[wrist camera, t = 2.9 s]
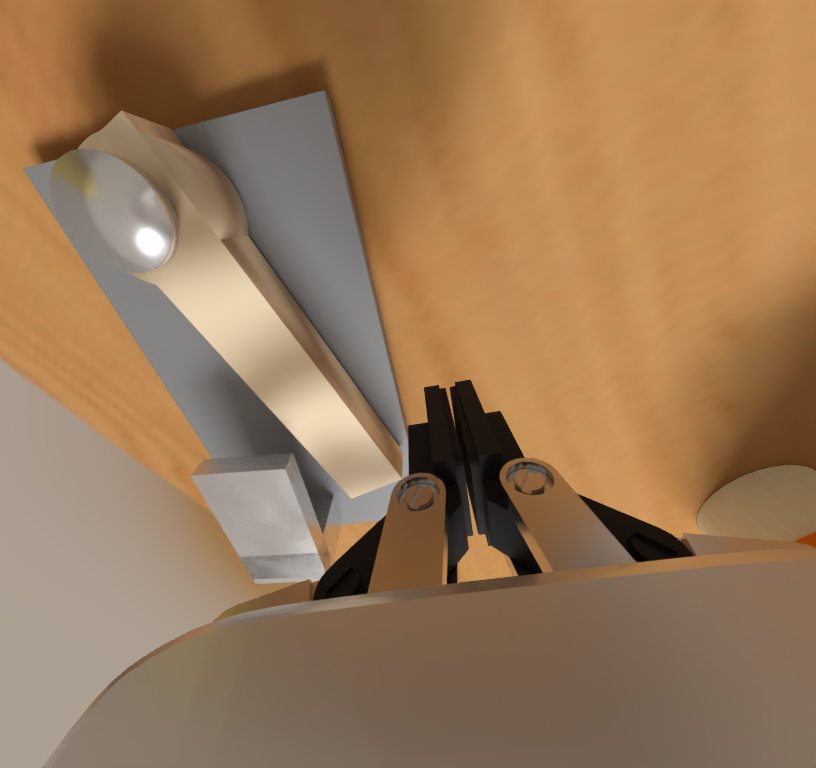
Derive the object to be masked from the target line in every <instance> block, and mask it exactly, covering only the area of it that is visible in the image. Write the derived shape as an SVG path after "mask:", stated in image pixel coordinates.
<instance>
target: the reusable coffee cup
mask: <svg viewBox="0 0 816 768" xmlns="http://www.w3.org/2000/svg"><path fill="white" fill-rule="evenodd" d="M697 526H698V529H699V530H700V532H701V533H702V535H712V536H725V537H739V538H752V539H766V540H779V541H790V542H796V543H801V544H806V545H809V546H811V547H814V548H816V470H814V469H812V468H809V467H806V466H800V465H781V466H774V467H769V468H765V469H761V470H757V471H754V472H752V473H749V474H746V475H744V476H742V477H739V478H737V479H735V480H733V481H731V482H730V483H728V484H726V485H725V486H723V487H722V488H720V489H719V490H718V491H716V492H715V493H714V494H713V495H711V496H710V497H709V499H708V500H707V501H706V502H705V503H704V504H703V506H702V507H701V509H700V510H699V513H698V516H697Z"/></svg>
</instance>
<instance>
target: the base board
mask: <svg viewBox="0 0 816 768" xmlns="http://www.w3.org/2000/svg"><path fill="white" fill-rule="evenodd" d="M173 132H174V133H175V134H176V136H177V137H178V139H179V140H180V141H181V143H182V144H183V146H185V147H188V148H190V149H192V150H195V151H196V152H198V153H200V154H202V155H203V156H205V157H206V158H208V159H209V160H210V161H212V162H213V163H214V164H215V165H216V166H217V167H218V168H219V169H220V170H221V171H222V172H223V173H224V174H225V175H226V176H227V178H228V179H229V180H230V182H231V183H232V184H233V186H234V188H235V189H236V191H237V193H238V195H239V197H240V199H241V201H242V204H243V206H244V209H245V213H246V216H247V222H248V236H249V238H250V239H251V240H252V242H253V243H254V245H255V246H256V247H257V249H258V250H259V252H260V253H261V254H262V256H263V257H264V259H265V260H266V261H267V263H268V264H269V265H270V267H271V268H272V270H273V271H274V272H275V274H276V275H277V277H278V278H279V279H280V281H281V282H282V284H283V285H284V286H285V288H286V289H287V291H288V292H289V293H290V295H291V296H292V298H293V299H294V300H295V302H296V303H297V305H298V306H299V307H300V309H301V310H302V311H303V313H304V314H305V316H306V317H307V318H308V320H309V321H310V323H311V324H312V325H313V327H314V328H315V330H316V331H317V332H318V334H319V335H320V337H321V338H322V339H323V341H324V342H325V344H326V345H327V346H328V348H329V349H330V351H331V352H332V353H333V355H334V356H335V357H336V359H337V360H338V362H339V363H340V364H341V366H342V367H343V369H344V370H345V371H346V373H347V374H348V376H349V377H350V378H351V380H352V381H353V383H354V384H355V385H356V387H357V388H358V390H359V391H360V392H361V394H362V395H363V397H364V398H365V399H366V401H367V402H368V403H369V405H370V406H371V408H372V409H373V410H374V412H375V413H376V415H377V416H378V417H379V419H380V420H381V422H382V423H383V424H384V426H385V427H386V429H387V430H388V431H389V433H390V434H391V436H392V437H393V438H394V440H395V441H396V443H397V444H398V445H399V447H400V448H401V449H402V451H403V466H402V479H403V478H405V477H406V476H409V460H408V430H407V425H406V421H405V417H404V412H403V408H402V404H401V400H400V395H399V391H398V387H397V382H396V378H395V374H394V370H393V365H392V361H391V357H390V352H389V348H388V344H387V340H386V335H385V331H384V327H383V322H382V318H381V314H380V310H379V305H378V301H377V297H376V292H375V288H374V284H373V280H372V275H371V271H370V267H369V263H368V258H367V254H366V250H365V245H364V241H363V237H362V233H361V228H360V224H359V220H358V215H357V211H356V207H355V203H354V198H353V194H352V190H351V185H350V181H349V177H348V173H347V168H346V164H345V160H344V155H343V151H342V147H341V143H340V138H339V134H338V130H337V125H336V121H335V117H334V113H333V108H332V104H331V100H330V98H329V96H328V95H327V93H326V92H325V90H323V91H319V92H315V93H311V94H307V95H304V96H300V97H296V98H292V99H288V100H284V101H280V102H277V103H273V104H269V105H265V106H261V107H257V108H254V109H250V110H246V111H242V112H238V113H234V114H230V115H227V116H223V117H219V118H215V119H211V120H207V121H203V122H200V123H196V124H192V125H188V126H184V127H180V128H177V129H173ZM57 160H58V159H57ZM57 160H53V161H50V162H46V163H42V164H38V165H34V166H30V167H27V168H23V170H24V171H25V173H26V174H27V176H28V177H29V179H30V180H31V182H32V183H33V185H34V186H35V188H36V189H37V191H38V192H39V194H40V196H41V197H42V199H43V200H44V202H45V203H46V205H47V206H48V208H49V209H50V211H51V212H52V214H53V215H54V217H55V218H56V220H57V222H58V223H59V225H60V226H61V228H62V229H63V231H64V232H65V234H66V235H67V237H68V238H69V240H70V241H71V243H72V244H73V246H74V247H75V249H76V251H77V252H78V254H79V255H80V257H81V258H82V260H83V261H84V263H85V264H86V266H87V267H88V269H89V270H90V272H91V273H92V275H93V277H94V278H95V280H96V281H97V283H98V284H99V286H100V287H101V289H102V290H103V292H104V293H105V295H106V296H107V298H108V299H109V301H110V302H111V304H112V306H113V307H114V309H115V310H116V312H117V313H118V315H119V316H120V318H121V319H122V321H123V322H124V324H125V325H126V327H127V328H128V330H129V331H130V333H131V335H132V336H133V338H134V339H135V341H136V342H137V344H138V345H139V347H140V348H141V350H142V351H143V353H144V354H145V356H146V357H147V359H148V361H149V362H150V364H151V365H152V367H153V368H154V370H155V371H156V373H157V374H158V376H159V377H160V379H161V380H162V382H163V383H164V385H165V386H166V388H167V390H168V391H169V393H170V394H171V396H172V397H173V399H174V400H175V402H176V403H177V405H178V406H179V408H180V409H181V411H182V412H183V414H184V415H185V417H186V419H187V420H188V422H189V423H190V425H191V426H192V428H193V429H194V431H195V432H196V434H197V435H198V437H199V438H200V440H201V441H202V443H203V445H204V446H205V448H206V449H207V451H208V452H209V454H210V455H211V457H212V458H213V459H216V458H229V457H243V456H257V455H271V454H285V453H293V454H294V457H295V460H296V462H297V465H298V468H299V471H300V473H301V476H302V479H303V482H304V484H305V487H306V490H307V493H308V495H309V497H317V496H333V495H334V498H335V501H336V504H337V508H338V511H339V514H340V517H341V521H342V524H341V525H346V524H354V523H362V522H371V521H379V520H381V519H382V518H383V517H384V516H385V515H386V514H387V509H388V505H389V501H390V497H391V493H392V491H393V488H394V487H395V485H396V484H397V483H398V482H399V481H400V480H398V481H395V482H393V483H390V484H388V485H385V486H383V487H380V488H378V489H375V490H373V491H370V492H367V493H365V494H362V495H360V496H357V497H355V498H352V499H351V498H350V497H349V496H348V494H347V493H346V492H345V491H344V490H343V489H342V488H341V487H340V486H339V485H338V483H337V482H336V481H335V480H334V479H333V478H332V477H331V476H330V475H329V474H328V473H327V471H326V470H325V469H324V468H323V467H322V466H321V465H320V464H319V463H318V462H317V460H316V459H315V458H314V457H313V456H312V455H311V454H310V453H309V452H308V451H307V449H306V448H305V447H304V446H303V445H302V444H301V443H300V442H299V441H298V440H297V438H296V437H295V436H294V435H293V434H292V433H291V432H290V431H289V430H288V429H287V428H286V426H285V425H284V424H283V423H282V422H281V421H280V420H279V419H278V418H277V417H276V415H275V414H274V413H273V412H272V411H271V410H270V409H269V408H268V407H267V406H266V404H265V403H264V402H263V401H262V400H261V399H260V398H259V397H258V396H257V395H256V393H255V392H254V391H253V390H252V389H251V388H250V387H249V386H248V385H247V384H246V382H245V381H244V380H243V379H242V378H241V377H240V376H239V375H238V374H237V373H236V372H235V370H234V369H233V368H232V367H231V366H230V365H229V364H228V363H227V362H226V361H225V359H224V358H223V357H222V356H221V355H220V354H219V353H218V352H217V351H216V350H215V348H214V347H213V346H212V345H211V344H210V343H209V342H208V341H207V340H206V339H205V337H204V336H203V335H202V334H201V333H200V332H199V331H198V330H197V329H196V328H195V327H194V325H193V324H192V323H191V322H190V321H189V320H188V319H187V318H186V317H185V316H184V314H183V313H182V312H181V311H180V310H179V309H178V308H177V307H176V306H175V305H174V303H173V302H172V301H171V300H170V299H169V298H168V297H167V296H166V295H165V294H164V292H163V291H162V290H161V289H160V288H159V287H158V286H157V285H155V284H152V283H149V282H146V281H144V280H142V279H139V278H137V277H136V276H134V275H132V274H130V273H126V272H122V271H118V270H115V269H112V268H110V267H108V266H106V265H104V264H102V263H100V262H99V261H97V260H96V259H94V258H93V257H91V256H90V255H89V254H88V253H86V252H85V251H84V250H83V249H82V248H81V247H80V246H79V245H78V244H77V243H76V242H75V241H74V240H73V239H72V237H71V236H70V235H69V234H68V232H67V231H66V229H65V228H64V226H63V225H62V223H61V221H60V220H59V218H58V215H57V213H56V211H55V208H54V206H53V203H52V199H51V194H50V176H51V171H52V169H53V166H54V164H55V163H56V161H57ZM402 479H401V480H402Z"/></svg>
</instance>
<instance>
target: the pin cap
mask: <svg viewBox="0 0 816 768" xmlns="http://www.w3.org/2000/svg"><path fill="white" fill-rule="evenodd" d="M50 194H51V199H52V203H53V206H54V208H55V211H56V213H57V215H58V218H59V220H60V221H61V223H62V225H63V226H64V228H65V229H66V231H67V232H68V234H69V235H70V236H71V237H72V239H73V240H74V241H75V242H76V243H77V244H78V245H79V246H80V247H81V248H82V249H83V250H84V251H85V252H86V253H88V254H89V255H90V256H91V257H93V258H94V259H96V260H97V261H99V262H100V263H102V264H104V265H106V266H108V267H110V268H112V269H115V270H118V271H122V272H126V273H144V272H149V271H153V270H157V269H160V268H162V267H164V266H166V265H167V264H168V263H169V262H170V261H171V260H172V259H173V257H174V256H175V254H176V251H177V249H178V244H179V222H178V218H177V215H176V212H175V210H174V208H173V206H172V204H171V203H170V201H169V200H168V198H167V196H166V195H165V193H164V192H163V190H162V189H161V188H160V187H159V185H158V184H157V183H156V182H155V181H154V180H153V179H152V178H151V177H150V175H148V174H147V173H146V172H145V171H144V170H143V169H141V168H140V167H139V166H137V165H136V164H134V163H133V162H131V161H129V160H127V159H125V158H123V157H121V156H118V155H115V154H112V153H108V152H103V151H98V150H93V149H76V150H72V151H69V152H67V153H65V154H64V155H62V156H61V157H60V158H59V159H58V160H57V161H56V163H55V164H54V166H53V169H52V171H51V176H50Z"/></svg>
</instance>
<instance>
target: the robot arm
mask: <svg viewBox="0 0 816 768" xmlns="http://www.w3.org/2000/svg"><path fill="white" fill-rule="evenodd" d="M424 392H425V400H426V409H427V418H428V422H427V423H421V424H415V425H409V426H408V460H409V476H406V477H405V478H403V479H402V480H400V481H399V482H398V483H397V484H396V485H395V487H394V488H393V491H392V493H391V497H390V501H389V505H388V509H387V514H386V515H385V516H384V517H383V518H382V519H381V520H380V521H379V522H378V523H377V524H376V525H375V526H374V527H372V528H371V529H370V530H369V531H368V532H367V533H366V534H365V535H364V536H363V537H362V538H361V539H360V540H359V541H357V542H356V543H355V544H354V545H353V546H352V547H351V548H350V549H349V550H348V551H347V552H346V553H345V554H344V555H343V556H341V557H340V558H339V559H338V560H337V561H336V562H335V563H334V564H333V565H332V566H331V567H330V568H329V569H328V570H327V571H326V572H325V573H324V574H323V576H322V577H321V578H320V580H319V581H316V582H313V583H312V582H311V580H310V579H308V580H305V581H302V582H300V583H297V584H294V585H291V586H289V587H286V588H283V589H280V590H277V591H275V592H272V593H269V594H266V595H264V596H261V597H258V598H255V599H253V600H250V601H247V602H244V603H242V604H239V605H236V606H234V607H232V608H230V609H228V610H226V611H224V612H223V613H222V614H221V615H220V616H219V617H218V618H217V619H215V620H214V621H213V622H212V623H209V624H206V625H204V626H201V627H199V628H196V629H194V630H192V631H189V632H187V633H185V634H183V635H181V636H179V637H177V638H175V639H174V640H172V641H170V642H168V643H166V644H164V645H162V646H160V647H159V648H157V649H155V650H154V651H152V652H151V653H149V654H147V655H146V656H144V657H143V658H141V659H140V660H138V661H137V662H136V663H134V664H133V665H131V666H130V667H128V668H127V669H126V670H125V671H124V672H122V673H121V674H120V675H119V676H118V677H117V678H115V679H114V680H113V681H112V682H111V683H110V684H109V685H108V686H107V687H106V688H105V689H104V690H103V691H102V692H101V694H100V695H99V696H98V697H97V698H96V699H95V700H94V701H93V702H92V704H91V705H90V706H89V707H88V708H87V710H86V711H85V712H84V713H83V715H82V716H81V717H80V718H79V720H78V721H77V722H76V723H75V725H74V726H73V727H72V728H71V730H70V731H69V732H68V733H67V735H66V736H65V737H64V739H63V740H62V742H61V743H60V744H59V745H58V747H57V748H56V750H55V751H54V752H53V754H52V755H51V756H50V758H49V759H48V760H47V762H46V763H45V765H44V766H43V767H42V768H816V548H814V547H811V546H809V545H806V544H801V543H796V542H790V541H779V540H766V539H752V538H739V537H725V536H712V535H698V534H685V533H683V536H682V538H676V537H674V536H673V535H672V534H670V533H668V532H666V531H664V530H662V529H660V528H658V527H656V526H653V525H651V524H649V523H646V522H644V521H641V520H639V519H637V518H634V517H632V516H629V515H627V514H625V513H622V512H620V511H617V510H615V509H613V508H610V507H608V506H605V505H603V504H601V503H598V502H596V501H593V500H591V499H589V498H586V497H584V496H581V495H579V494H577V493H576V492H575V491H574V490H573V489H572V488H571V486H570V485H569V484H568V483H567V482H566V481H565V480H564V478H563V477H562V476H561V475H560V474H559V473H558V471H557V470H556V469H554V468H553V467H552V466H551V465H550V464H548V463H546V462H544V461H541V460H538V459H534V458H525V457H524V456H523V454H522V452H521V450H520V448H519V446H518V444H517V442H516V440H515V438H514V436H513V434H512V432H511V430H510V429H509V427H508V425H507V423H506V421H505V419H504V417H503V415H502V413H501V412H500V411H497V412H490V413H485V412H484V410H483V408H482V405H481V403H480V401H479V398H478V396H477V394H476V391H475V389H474V387H473V384H472V382H471V380H466V381H460V382H455V386H453V387H450V392H451V400H452V407H453V414H454V421H455V425H454V421H453V417H452V413H451V409H450V405H449V401H448V397H447V393H446V389H445V388H441V389H439V385H436V386H430V387H424ZM455 428H456V429H455ZM466 484H467V486H466ZM467 488H468V492H469V496H470V500H471V505H472V509H473V513H474V517H475V521H476V526H477V530H478V534H479V535H482V534H486V538H487V542H488V546H493V547H494V548H496V549H498V550H499V551H501V552H502V553H504V554H505V559H506V562H507V565H508V567H509V569H510V571H511V573H512V576H513V577H504V578H496V579H487V580H478V581H470V582H461V583H460V568H459V561H460V560H461V558H462V557H463V556H464V554H465V553H466V552H467V550H468V549H469V547H468V540H467V536H473V530H472V523H471V516H470V508H469V501H468V493H467Z"/></svg>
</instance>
